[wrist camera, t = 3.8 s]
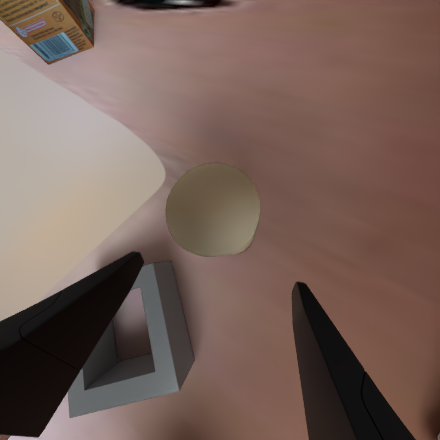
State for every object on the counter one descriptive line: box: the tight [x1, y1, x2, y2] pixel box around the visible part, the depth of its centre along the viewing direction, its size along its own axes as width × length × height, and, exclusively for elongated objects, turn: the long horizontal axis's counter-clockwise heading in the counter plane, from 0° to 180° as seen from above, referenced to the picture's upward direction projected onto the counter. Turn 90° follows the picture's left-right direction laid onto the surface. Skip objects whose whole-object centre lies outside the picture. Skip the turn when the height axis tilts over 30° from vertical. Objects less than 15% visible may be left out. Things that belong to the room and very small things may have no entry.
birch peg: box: [166, 163, 260, 257], centre depth 13 cm, size 4×4×12 cm
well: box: [68, 261, 195, 418], centre depth 17 cm, size 11×11×4 cm
